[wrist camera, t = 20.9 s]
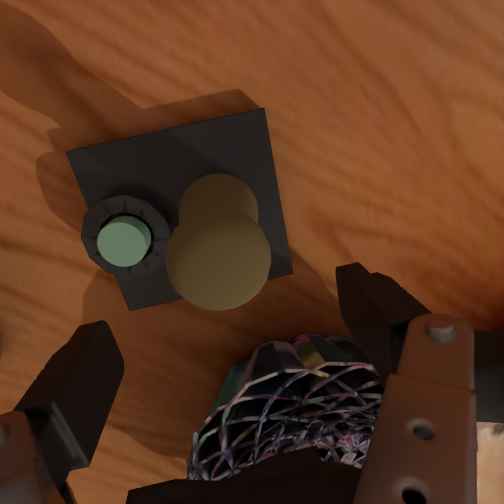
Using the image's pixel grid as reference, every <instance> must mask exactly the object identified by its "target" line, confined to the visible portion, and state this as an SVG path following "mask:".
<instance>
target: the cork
mask: <svg viewBox="0 0 504 504" xmlns="http://www.w3.org/2000/svg"><path fill="white" fill-rule="evenodd" d="M165 264H166V268H167V272H168V276H169V280H170V282H171V284H172V285H173V287H174V288H175V290H176V292H177V293H178V294H179V295H180V296H182V297H183V298H184V299H185V300H186V301H188V302H189V303H191V304H193V305H195V306H198V307H200V308H203V309H208V310H216V311H221V310H228V309H234V308H236V307H238V306H241V305H243V304H245V303H247V302H249V301H250V300H251V299H252V298H253V297H254V296H256V295H257V294H258V293H259V292H260V290H261V289H262V287H263V285H264V284H265V282H266V281H267V278H268V274H269V269H270V265H271V253H270V245H269V243H268V241H267V239H266V237H265V235H264V233H263V231H262V229H261V227H260V226H259V225H258V205H257V201H256V199H255V197H254V194H253V192H252V191H251V189H250V188H249V187H248V186H247V185H246V184H245V183H244V182H243V181H241V180H239V179H237V178H236V177H234V176H232V175H226V174H221V173H217V174H209V175H205V176H203V177H201V178H199V179H197V180H195V181H194V182H193V183H192V184H191V185H190V186H189V187H188V188H187V189H186V190H185V192H184V194H183V196H182V198H181V200H180V207H179V225H178V226H177V227H176V228H175V230H174V232H173V234H172V236H171V238H170V240H169V242H168V244H167V247H166V256H165Z"/></svg>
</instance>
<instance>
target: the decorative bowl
mask: <svg viewBox="0 0 504 504" xmlns="http://www.w3.org/2000/svg"><path fill="white" fill-rule="evenodd" d="M385 386H386V385H385V384H384V382H383V381H382V379H381V378H380V376H379V375H378V373H377V372H376V370H375V369H374V367H373V366H372V364H371V362H370V361H369V359H368V358H367V356H366V355H365V353H364V352H363V350H362V349H361V347H360V346H359V344H358V343H357V342H355V341H353V340H351V339H348V338H346V337H344V336H333V335H330V336H328V337H327V338H323V337H321V336H320V335H318V334H308V333H305V334H303V335H300V336H298V337H296V338H295V339H294V340H293V341H292V342H291V343H290V344H289V343H288V342H284V341H267V342H265V343H263V344H262V345H260V346H258V347H257V348H256V349H255V350H254V352H253V355H252V357H251V360H246V361H243V362H240V363H237V364H235V365H234V366H233V368H232V369H231V370H230V371H229V372H228V375H227V377H226V379H225V381H224V383H223V385H222V387H221V389H220V391H219V393H218V395H217V397H216V399H215V401H214V403H213V405H212V407H211V409H210V411H209V413H208V415H207V417H206V420H205V421H204V423H203V424H202V425H201V426H200V427H199V428H198V429H197V431H196V432H195V433H194V434H193V441H192V451H191V454H190V456H189V457H188V459H187V460H186V462H187V474H188V477H187V478H186V479H188V480H225V479H228V478H230V477H232V476H234V475H235V474H237V473H239V472H241V471H243V470H245V469H247V468H249V467H251V466H253V465H255V464H257V463H259V462H260V461H262V460H264V459H266V458H268V457H270V456H273V455H277V454H281V453H285V452H290V451H294V450H298V449H302V448H306V447H310V446H314V445H317V447H318V450H319V453H320V456H321V460H322V461H333V462H339V463H344V464H348V465H351V466H355V467H357V468H360V469H362V468H363V464H364V461H365V457H366V454H367V450H368V447H369V443H370V439H371V436H372V432H373V429H374V425H375V422H376V418H377V414H378V411H379V407H380V404H381V400H382V397H383V393H384V389H385ZM476 434H477V427H476ZM477 452H478V442H477Z"/></svg>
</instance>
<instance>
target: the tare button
mask: <svg viewBox="0 0 504 504" xmlns="http://www.w3.org/2000/svg"><path fill="white" fill-rule="evenodd" d="M150 243H151V235H150V231H149V229H148V228H147V226H146V225H145V224H144V223H143V222H142V221H141V220H139V219H137V218H135V217H132V216H120V217H117V218H115V219H113V220H112V221H111V222H109V223H108V224H107V225H106V226H105V227H104V228H103V229H102V230H101V231H100V233H99V235H98V238H97V246H98V249H99V252H100V254H101V255H102V256H103V258H104V259H105V260H107V261H108V262H110V263H111V264H114V265H116V266H122V267H127V266H132V265H134V264H136V263H138V262H139V261H140V260H141V259H142V258H143V257H144V255H145V253H146V252H147V250H148V248H149V246H150Z"/></svg>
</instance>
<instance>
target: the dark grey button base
mask: <svg viewBox="0 0 504 504" xmlns="http://www.w3.org/2000/svg"><path fill="white" fill-rule="evenodd" d="M66 154H67V156H68V159H69V161H70V164H71V166H72V169H73V171H74V174H75V176H76V179H77V181H78V184H79V186H80V189H81V191H82V194H83V196H84V199H85V201H86V204H87V206H88V209H89V211H88V212H87V213H86V215H85V216H84V222H83V228H82V234H81V239H82V241H83V243H84V246H85V248H86V251H87V253H88V255H89V258H90V259H91V260H93V261H94V262H95V263H96V264H98V265H99V266H100V267H101V268H102V269H104V270H105V271H106V272H107V273H111V274H115V276H116V279H117V281H118V284H119V286H120V288H121V291H122V293H123V296H124V298H125V301H126V303H127V306H128V308H129V311H132V310H136V309H140V308H145V307H149V306H154V305H158V304H162V303H167V302H171V301H175V300H180V299H184V298H183V297H182V296H180V295H179V294H178V293H177V292H176V290H175V288H174V287H173V285H172V284H171V282H170V280H169V276H168V272H167V268H166V264H165V256H166V247H167V244H168V242H169V240H170V238H171V236H172V234H173V232H174V230H175V228H176V227H177V226H178V225H179V207H180V200H181V198H182V196H183V194H184V192H185V190H186V189H187V188H188V187H189V186H190V185H191V184H192V183H193V182H194V181H195V180H197V179H199V178H201V177H203V176H205V175H209V174H217V173H221V174H226V175H232V176H234V177H236V178H237V179H239V180H241V181H243V182H244V183H245V184H246V185H247V186H248V187H249V188H250V189H251V191H252V192H253V194H254V197H255V199H256V201H257V205H258V225H259V226H260V227H261V229H262V231H263V233H264V235H265V237H266V239H267V241H268V243H269V245H270V253H271V265H270V269H269V274H268V278H267V280H268V279H272V278H277V277H281V276H285V275H290V274H293V269H292V264H291V258H290V252H289V246H288V241H287V235H286V229H285V223H284V218H283V212H282V206H281V201H280V195H279V189H278V183H277V178H276V172H275V166H274V160H273V155H272V149H271V143H270V137H269V132H268V126H267V120H266V114H265V109H264V108H261V109H256V110H252V111H247V112H243V113H238V114H233V115H229V116H224V117H220V118H215V119H211V120H206V121H202V122H197V123H193V124H188V125H183V126H179V127H174V128H170V129H165V130H161V131H156V132H152V133H147V134H143V135H138V136H133V137H129V138H124V139H120V140H115V141H111V142H106V143H102V144H97V145H93V146H88V147H83V148H79V149H74V150H70V151H66ZM120 216H132V217H135V218H137V219H139V220H141V221H142V222H143V223H144V224H145V225H146V226H147V228H148V229H149V231H150V235H151V243H150V246H149V248H148V250H147V252H146V253H145V255H144V257H143V258H142V259H141V260H140V261H139V262H138V263H136V264H134V265H132V266H127V267H122V266H116V265H114V264H111V263H110V262H108V261H107V260H105V259H104V258H103V256H102V255H101V254H100V252H99V249H98V246H97V238H98V235H99V233H100V231H101V230H102V229H103V228H104V227H105V226H106V225H107V224H108V223H109V222H111V221H112V220H113V219H115V218H117V217H120Z"/></svg>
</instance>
